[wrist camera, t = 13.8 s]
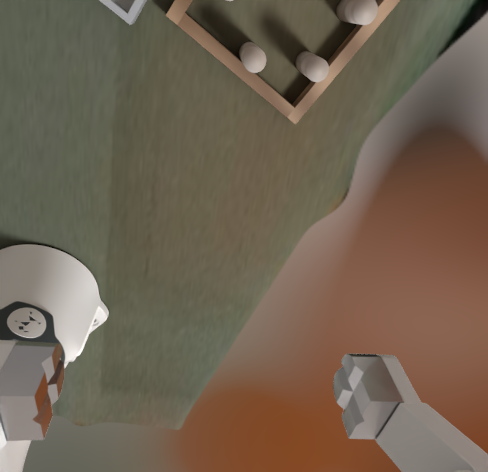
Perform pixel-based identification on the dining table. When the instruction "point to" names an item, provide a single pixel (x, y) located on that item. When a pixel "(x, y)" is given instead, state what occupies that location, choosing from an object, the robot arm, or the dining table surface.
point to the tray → (126, 8)
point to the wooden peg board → (313, 67)
